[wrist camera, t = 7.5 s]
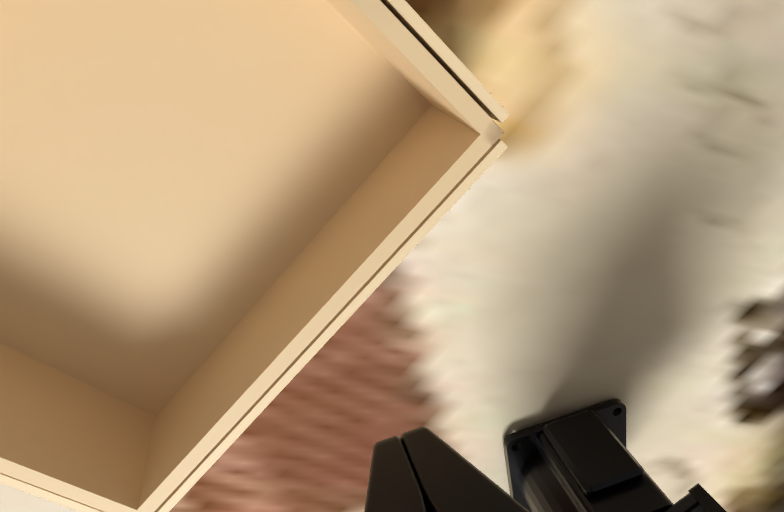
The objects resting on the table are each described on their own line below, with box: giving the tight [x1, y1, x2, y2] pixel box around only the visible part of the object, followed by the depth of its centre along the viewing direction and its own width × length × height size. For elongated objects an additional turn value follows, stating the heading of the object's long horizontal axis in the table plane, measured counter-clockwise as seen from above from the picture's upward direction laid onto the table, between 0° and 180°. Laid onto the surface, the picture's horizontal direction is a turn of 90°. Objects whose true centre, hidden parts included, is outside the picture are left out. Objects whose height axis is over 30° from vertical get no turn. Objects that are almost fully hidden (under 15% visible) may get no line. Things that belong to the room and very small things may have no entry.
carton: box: [0, 0, 510, 512], centre depth 17 cm, size 14×18×5 cm
